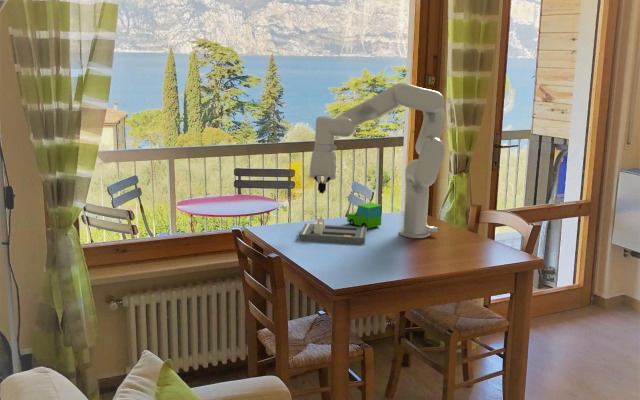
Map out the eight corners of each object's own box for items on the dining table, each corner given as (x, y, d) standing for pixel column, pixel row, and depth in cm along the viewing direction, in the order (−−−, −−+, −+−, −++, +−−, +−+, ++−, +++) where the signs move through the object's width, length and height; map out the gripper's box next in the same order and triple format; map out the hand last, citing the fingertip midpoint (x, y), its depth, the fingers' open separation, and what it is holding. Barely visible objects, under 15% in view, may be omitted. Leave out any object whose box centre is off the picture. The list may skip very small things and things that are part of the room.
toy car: (360, 220, 286) (361, 199, 284) (382, 227, 277) (383, 204, 274) (344, 224, 279) (345, 202, 277) (366, 231, 270) (367, 208, 268)
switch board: (366, 232, 267) (366, 226, 266) (364, 244, 252) (364, 237, 251) (305, 229, 270) (305, 223, 269) (299, 240, 255) (299, 233, 254)
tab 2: (322, 234, 259) (322, 221, 257) (321, 236, 256) (321, 223, 254) (314, 234, 259) (315, 221, 258) (313, 236, 256) (314, 223, 255)
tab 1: (324, 229, 266) (325, 216, 265) (324, 231, 263) (324, 218, 262) (317, 228, 267) (318, 216, 265) (316, 230, 264) (317, 218, 263)
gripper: (343, 147, 256) (340, 192, 260) (306, 145, 258) (304, 189, 262) (341, 150, 249) (339, 196, 253) (304, 147, 251) (302, 193, 255)
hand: (321, 192), depth 258 cm, fingers closed
